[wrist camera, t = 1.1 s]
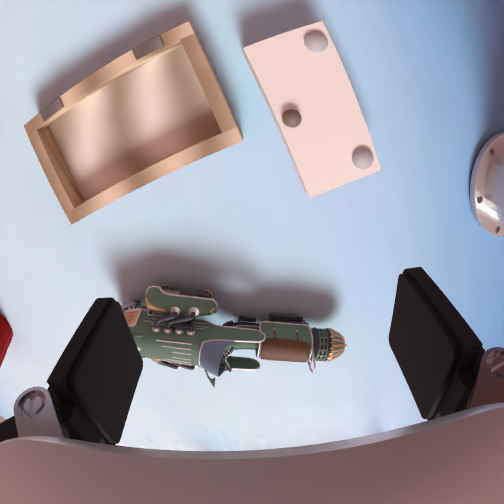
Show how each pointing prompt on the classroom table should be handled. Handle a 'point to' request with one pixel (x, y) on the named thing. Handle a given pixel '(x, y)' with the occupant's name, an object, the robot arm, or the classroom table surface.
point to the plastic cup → (4, 337)
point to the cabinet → (133, 123)
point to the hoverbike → (221, 335)
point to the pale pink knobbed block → (313, 107)
